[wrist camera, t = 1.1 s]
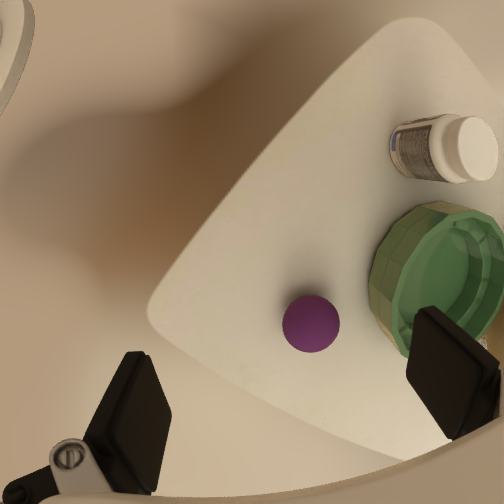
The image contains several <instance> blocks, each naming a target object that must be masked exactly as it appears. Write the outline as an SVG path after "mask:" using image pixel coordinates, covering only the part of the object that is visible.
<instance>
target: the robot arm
mask: <svg viewBox="0 0 504 504" xmlns="http://www.w3.org/2000/svg"><path fill="white" fill-rule="evenodd" d="M1 36H2V24H1V20H0V42H1ZM499 365H500V362H499V361H498V360H497V359H496V358H495V357H494V356H493V355H492V354H491V353H489V352H488V351H487V350H486V349H485V348H484V347H483V346H482V345H481V344H479V343H478V342H477V341H476V340H475V339H474V338H473V337H471V336H470V335H469V334H468V333H467V332H466V331H464V330H463V329H462V328H461V327H460V326H459V325H457V324H456V323H455V322H454V321H453V320H451V319H450V318H449V317H448V316H447V315H445V314H444V313H443V312H442V311H441V310H439V309H438V308H437V307H436V306H434V305H431V306H427V307H424V308H420V309H419V310H418V313H416V314H415V316H414V322H413V330H412V337H411V344H410V351H409V357H408V363H407V368H406V377H407V380H408V381H409V383H410V384H411V386H412V387H413V389H414V390H415V391H416V393H417V394H418V396H419V397H420V399H421V400H422V402H423V403H424V404H425V406H426V407H427V409H428V410H429V412H430V413H431V415H432V416H433V418H434V419H435V421H436V422H437V424H438V425H439V427H440V428H441V430H442V431H443V433H444V434H445V436H446V437H447V438H448V439H452V442H450V443H448V444H446V445H444V446H442V447H439V448H437V449H435V450H432V451H430V452H428V453H425V454H423V455H420V456H418V457H415V458H413V459H410V460H408V461H405V462H402V463H399V464H397V465H394V466H391V467H388V468H385V469H382V470H379V471H376V472H372V473H369V474H365V475H362V476H358V477H354V478H351V479H347V480H343V481H339V482H335V483H330V484H325V485H321V486H316V487H311V488H305V489H299V490H293V491H287V492H279V493H271V494H262V495H252V496H237V497H209V498H198V497H197V498H195V497H162V496H151V492H155V491H156V489H157V484H158V479H159V474H160V469H161V464H162V460H163V455H164V451H165V446H166V441H167V437H168V432H169V427H170V423H171V418H172V414H171V410H170V407H169V404H168V402H167V400H166V397H165V395H164V392H163V390H162V387H161V384H160V382H159V379H158V377H157V374H156V372H155V369H154V366H153V363H152V360H151V358H150V356H149V355H145V353H144V352H143V351H134V352H127V353H126V354H125V356H124V358H123V360H122V361H121V364H120V365H119V367H118V369H117V371H116V373H115V375H114V376H113V379H112V380H111V382H110V384H109V386H108V388H107V390H106V392H105V394H104V396H103V398H102V400H101V402H100V404H99V406H98V408H97V410H96V412H95V414H94V416H93V418H92V420H91V422H90V424H89V426H88V428H87V431H86V432H85V435H84V437H83V440H80V439H75V438H72V439H66V440H63V441H61V442H59V443H58V444H56V445H55V446H54V447H53V449H52V450H51V452H50V455H49V463H50V465H48V466H46V467H44V468H42V469H39V470H37V471H35V472H33V473H30V474H28V475H26V476H23V477H21V478H19V479H16V480H14V481H12V482H10V483H9V484H8V485H7V486H6V487H5V489H4V491H3V495H2V499H3V502H2V503H1V502H0V504H504V367H503V369H502V370H500V369H499V368H498V367H499Z"/></svg>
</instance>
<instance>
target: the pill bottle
mask: <svg viewBox="0 0 504 504" xmlns="http://www.w3.org/2000/svg"><path fill="white" fill-rule="evenodd" d="M390 154H391V158H392V160H393V162H394V164H395V166H396V167H397V169H398V170H399V171H400V172H401V173H403V174H404V175H406V176H408V177H411V178H416V179H425V180H433V181H441V182H447V183H454V184H461V183H465V182H467V181H469V180H470V181H485V180H487V179H489V178H490V177H491V176H492V175H493V174H494V172H495V170H496V167H497V163H498V145H497V141H496V138H495V135H494V133H493V131H492V129H491V128H490V126H489V125H488V124H487V123H486V122H485V121H484V120H482V119H481V118H479V117H475V116H470V117H461V116H459V115H455V114H444V115H440V116H434V117H429V118H423V119H418V120H414V121H409V122H405V123H403V124H401V125H399V126H398V127H397V128H396V129H395V131H394V132H393V134H392V136H391V139H390Z"/></svg>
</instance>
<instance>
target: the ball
mask: <svg viewBox="0 0 504 504" xmlns="http://www.w3.org/2000/svg"><path fill="white" fill-rule="evenodd" d="M282 326H283V332H284V335H285V337H286V339H287V341H288V342H289V343H290V344H291V345H292V346H293V347H294V348H296V349H298V350H300V351H303V352H309V353H312V352H318V351H321V350H323V349H325V348H327V347H328V346H329V345H331V344H332V342H333V341H334V340H335V338H336V337H337V334H338V332H339V327H340V320H339V315H338V312H337V310H336V309H335V307H334V306H333V305H332V304H331V303H330V302H329V301H328V300H326V299H324V298H322V297H319V296H304V297H301V298H299V299H297V300H296V301H294V302H293V303H292V304H291V305H290V306H289V307H288V308H287V310H286V312H285V314H284V317H283V322H282Z"/></svg>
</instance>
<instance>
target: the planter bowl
mask: <svg viewBox="0 0 504 504" xmlns="http://www.w3.org/2000/svg"><path fill="white" fill-rule="evenodd" d="M483 336H484V338H485V340H486V341H487V348H488V352H489V353H491V354H492V355H493V356H494V357H495V358H496V359H497V360H498V361H499V362H500V365H499V367H498V368H499V369H500V370H502V369H503V367H504V298H503V301H502V303H501V306H500V308H499V311H498V313H497V315H496V316H495V318H494V320H493V321H492V323H491V324H490V325H489V327H488V328H487V330H486V331H485V333H484V334H483Z"/></svg>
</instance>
